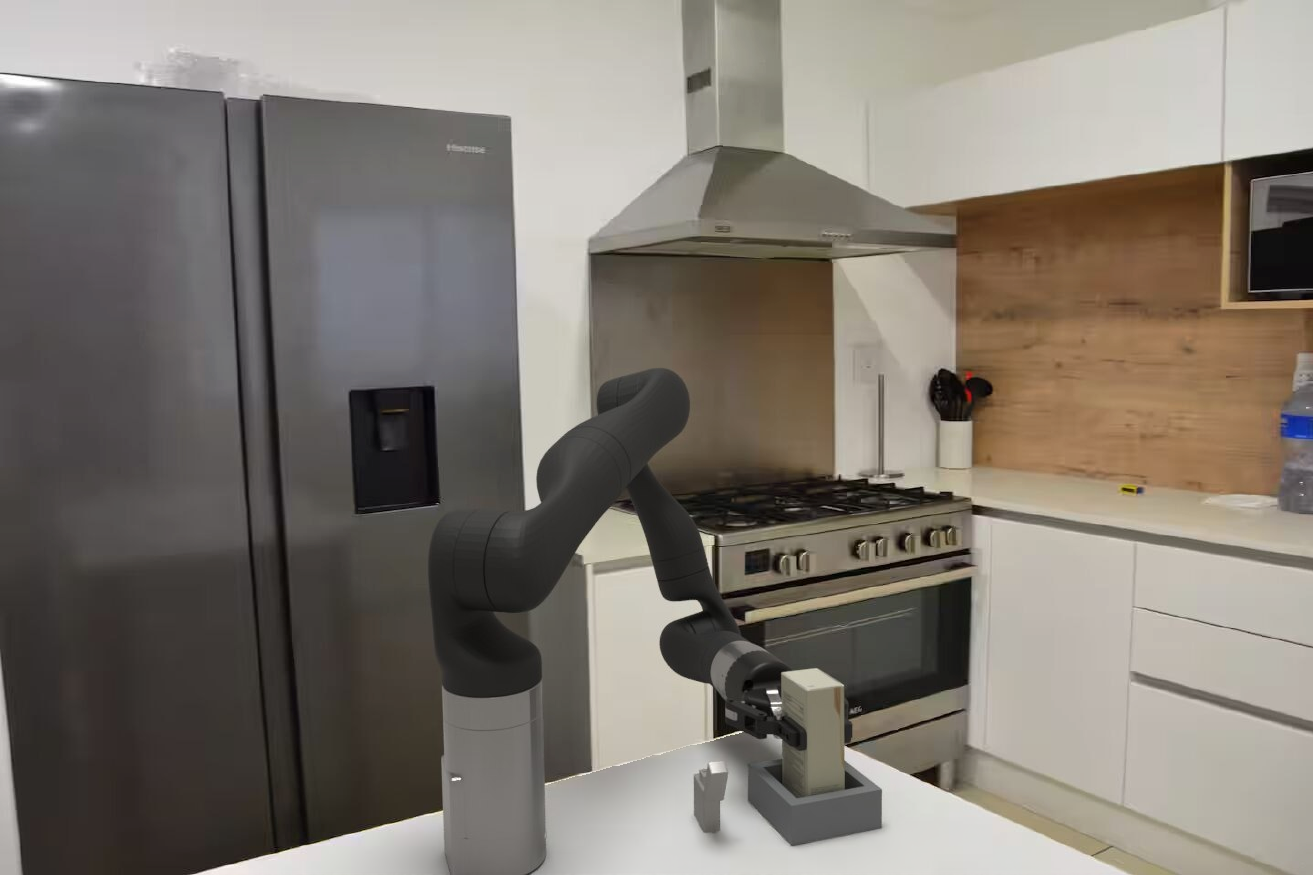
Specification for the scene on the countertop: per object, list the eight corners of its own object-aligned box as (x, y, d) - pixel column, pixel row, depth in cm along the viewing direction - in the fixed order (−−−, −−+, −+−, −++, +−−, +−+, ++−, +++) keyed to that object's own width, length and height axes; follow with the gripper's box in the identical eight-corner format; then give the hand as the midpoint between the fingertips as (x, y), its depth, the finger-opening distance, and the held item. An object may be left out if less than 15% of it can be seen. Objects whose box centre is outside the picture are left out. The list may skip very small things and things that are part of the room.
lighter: (693, 813, 102) (692, 738, 101) (709, 811, 102) (709, 737, 101) (711, 847, 95) (711, 767, 94) (729, 845, 95) (728, 765, 94)
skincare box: (846, 804, 99) (847, 686, 97) (807, 810, 97) (808, 691, 96) (816, 776, 105) (817, 665, 103) (779, 782, 103) (780, 670, 102)
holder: (791, 845, 95) (791, 805, 94) (748, 800, 104) (747, 764, 104) (881, 827, 98) (881, 789, 98) (831, 785, 107) (831, 750, 107)
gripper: (695, 656, 111) (761, 710, 95) (808, 642, 116) (889, 692, 100) (696, 721, 112) (761, 785, 96) (808, 704, 116) (888, 763, 100)
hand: (825, 737), depth 98 cm, fingers closed on skincare box, 4 cm apart
